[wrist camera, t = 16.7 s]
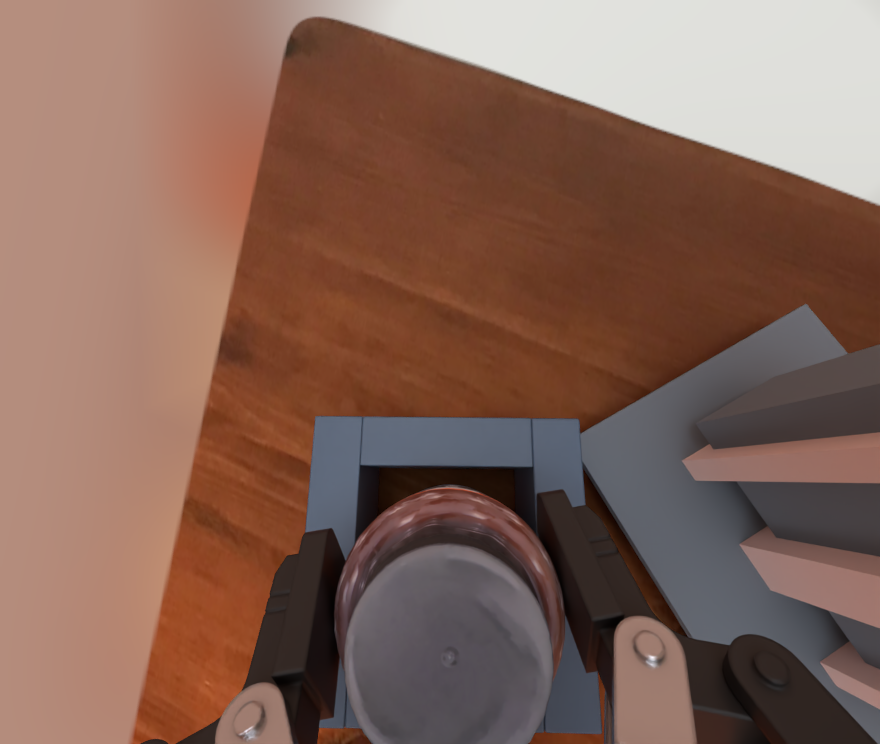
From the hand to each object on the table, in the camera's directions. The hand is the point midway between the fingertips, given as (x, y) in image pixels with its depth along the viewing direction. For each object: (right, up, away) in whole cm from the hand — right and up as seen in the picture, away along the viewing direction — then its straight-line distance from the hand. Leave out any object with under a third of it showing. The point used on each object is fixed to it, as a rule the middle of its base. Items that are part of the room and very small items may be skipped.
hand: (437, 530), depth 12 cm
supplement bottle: (0, -4, +7) cm, 8 cm away
